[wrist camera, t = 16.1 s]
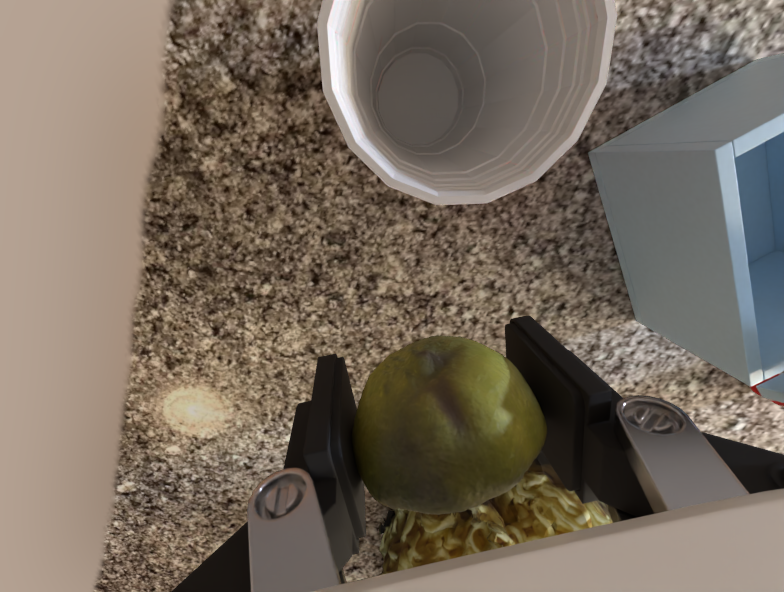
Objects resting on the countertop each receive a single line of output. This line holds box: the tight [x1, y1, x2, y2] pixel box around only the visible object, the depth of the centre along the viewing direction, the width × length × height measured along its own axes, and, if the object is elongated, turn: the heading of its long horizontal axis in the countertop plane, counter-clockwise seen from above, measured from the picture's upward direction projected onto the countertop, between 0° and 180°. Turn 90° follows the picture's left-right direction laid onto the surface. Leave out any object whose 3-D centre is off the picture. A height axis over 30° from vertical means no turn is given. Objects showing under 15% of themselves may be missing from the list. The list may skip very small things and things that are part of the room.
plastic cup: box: [317, 0, 617, 205], centre depth 18 cm, size 11×11×12 cm
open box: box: [588, 53, 784, 387], centre depth 24 cm, size 16×13×10 cm
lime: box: [352, 336, 547, 515], centre depth 10 cm, size 4×5×5 cm
